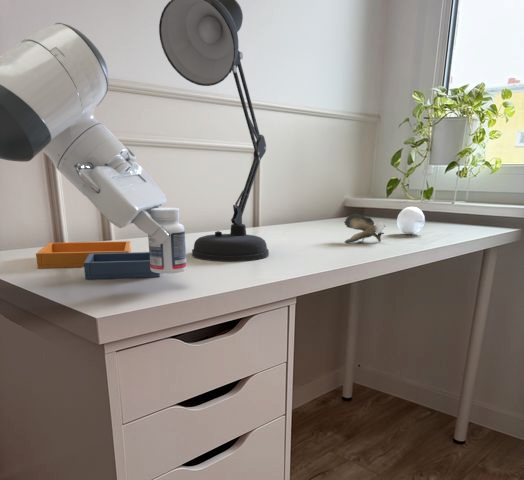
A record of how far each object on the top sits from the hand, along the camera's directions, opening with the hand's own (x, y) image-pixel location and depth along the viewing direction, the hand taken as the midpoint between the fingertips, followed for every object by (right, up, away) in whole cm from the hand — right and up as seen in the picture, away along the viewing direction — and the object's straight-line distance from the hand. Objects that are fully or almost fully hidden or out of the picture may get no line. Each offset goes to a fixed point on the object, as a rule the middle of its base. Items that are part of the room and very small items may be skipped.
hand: (171, 237), depth 75 cm
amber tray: (-20, +1, +23) cm, 30 cm away
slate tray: (-10, -3, +13) cm, 17 cm away
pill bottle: (-1, -5, +2) cm, 5 cm away
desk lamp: (+6, +3, +31) cm, 31 cm away
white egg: (+55, +16, +68) cm, 89 cm away
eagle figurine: (+38, +10, +52) cm, 65 cm away
